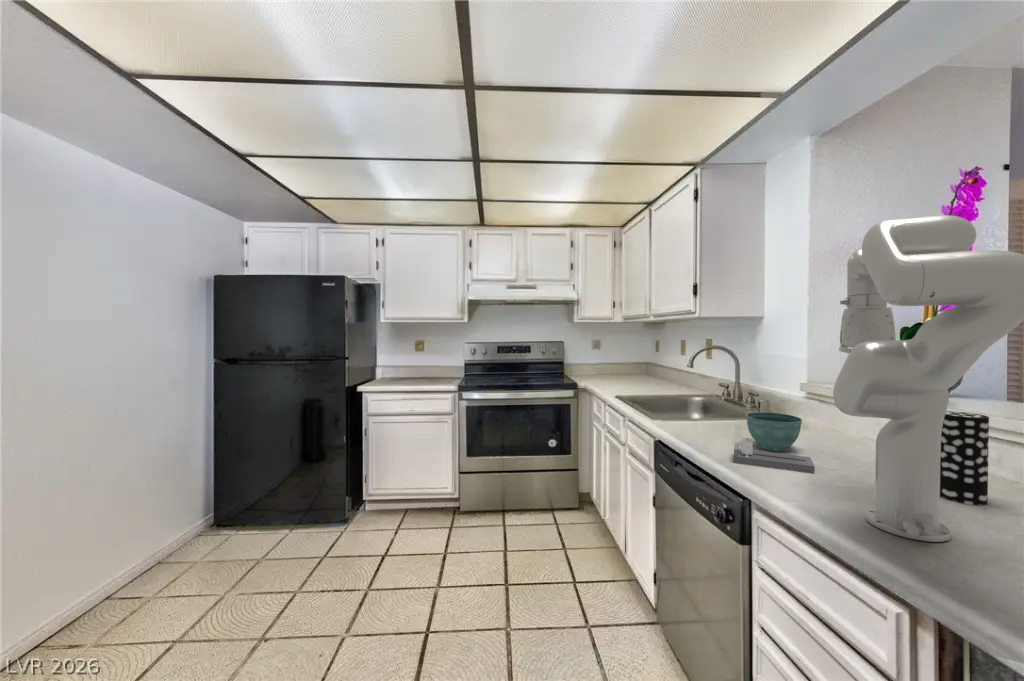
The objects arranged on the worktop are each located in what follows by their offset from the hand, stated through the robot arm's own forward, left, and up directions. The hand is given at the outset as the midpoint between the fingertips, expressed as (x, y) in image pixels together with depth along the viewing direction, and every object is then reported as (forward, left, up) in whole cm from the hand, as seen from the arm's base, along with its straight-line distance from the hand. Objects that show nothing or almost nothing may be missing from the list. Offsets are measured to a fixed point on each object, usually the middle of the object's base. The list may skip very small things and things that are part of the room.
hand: (866, 375), depth 104 cm
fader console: (+13, +20, -29) cm, 37 cm away
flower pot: (+32, +19, -29) cm, 47 cm away
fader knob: (+13, +26, -26) cm, 39 cm away
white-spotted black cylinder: (+4, -18, -29) cm, 35 cm away
